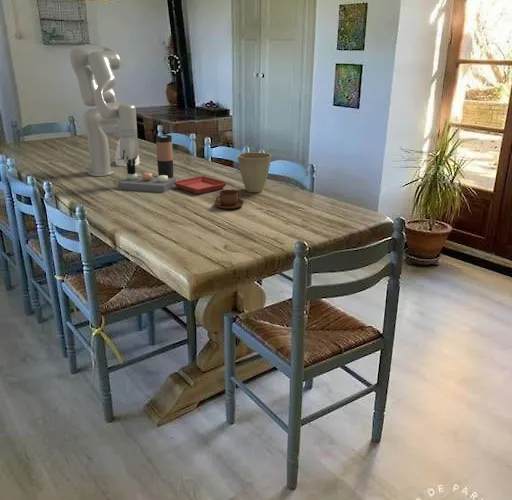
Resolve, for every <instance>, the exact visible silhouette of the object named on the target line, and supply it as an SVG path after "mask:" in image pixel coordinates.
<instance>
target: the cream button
mask: <svg viewBox="0 0 512 500" xmlns="http://www.w3.org/2000/svg"><path fill="white" fill-rule="evenodd" d="M157 177H158V182H168V176H166V175H160V176H159V175H157Z"/></svg>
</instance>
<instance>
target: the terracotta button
mask: <svg viewBox="0 0 512 500" xmlns="http://www.w3.org/2000/svg"><path fill="white" fill-rule="evenodd" d="M141 176H142V179H144V180H150V179H153V177H154V176H153V173H152V172H143V173H141Z"/></svg>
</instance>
